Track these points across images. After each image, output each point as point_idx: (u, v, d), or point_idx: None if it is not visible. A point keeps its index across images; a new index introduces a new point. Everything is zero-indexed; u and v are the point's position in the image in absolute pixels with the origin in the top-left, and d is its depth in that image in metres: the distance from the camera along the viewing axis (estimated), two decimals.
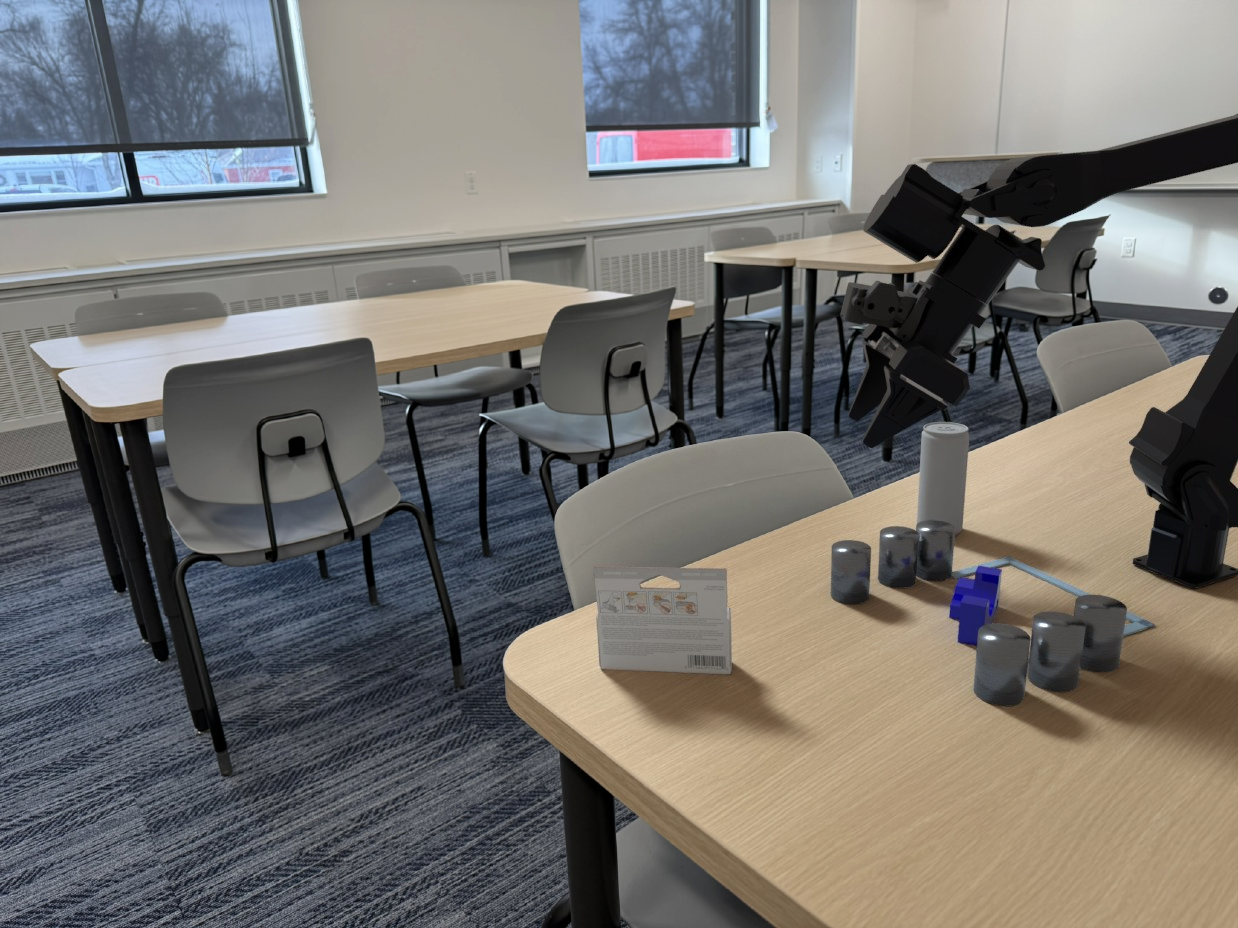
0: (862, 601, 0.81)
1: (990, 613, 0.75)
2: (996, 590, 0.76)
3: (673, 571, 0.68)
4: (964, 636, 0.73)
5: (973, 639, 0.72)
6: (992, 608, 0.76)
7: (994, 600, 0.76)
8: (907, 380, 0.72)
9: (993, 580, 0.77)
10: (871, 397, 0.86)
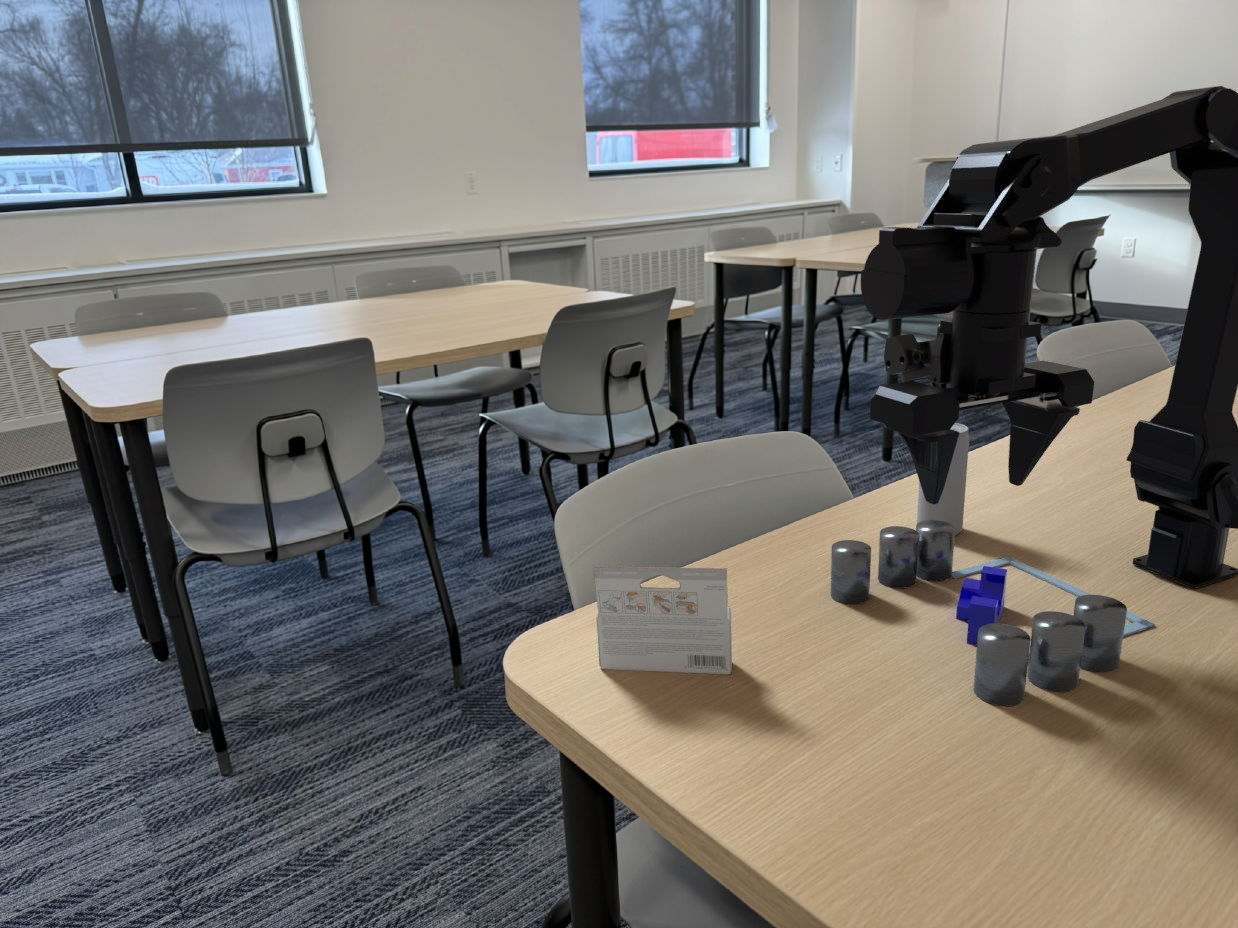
0: (862, 601, 0.81)
1: (997, 613, 0.75)
2: (1002, 590, 0.76)
3: (673, 571, 0.68)
4: (974, 637, 0.72)
5: None
6: (999, 608, 0.75)
7: (1001, 600, 0.76)
8: None
9: (999, 581, 0.76)
10: (1021, 454, 0.73)
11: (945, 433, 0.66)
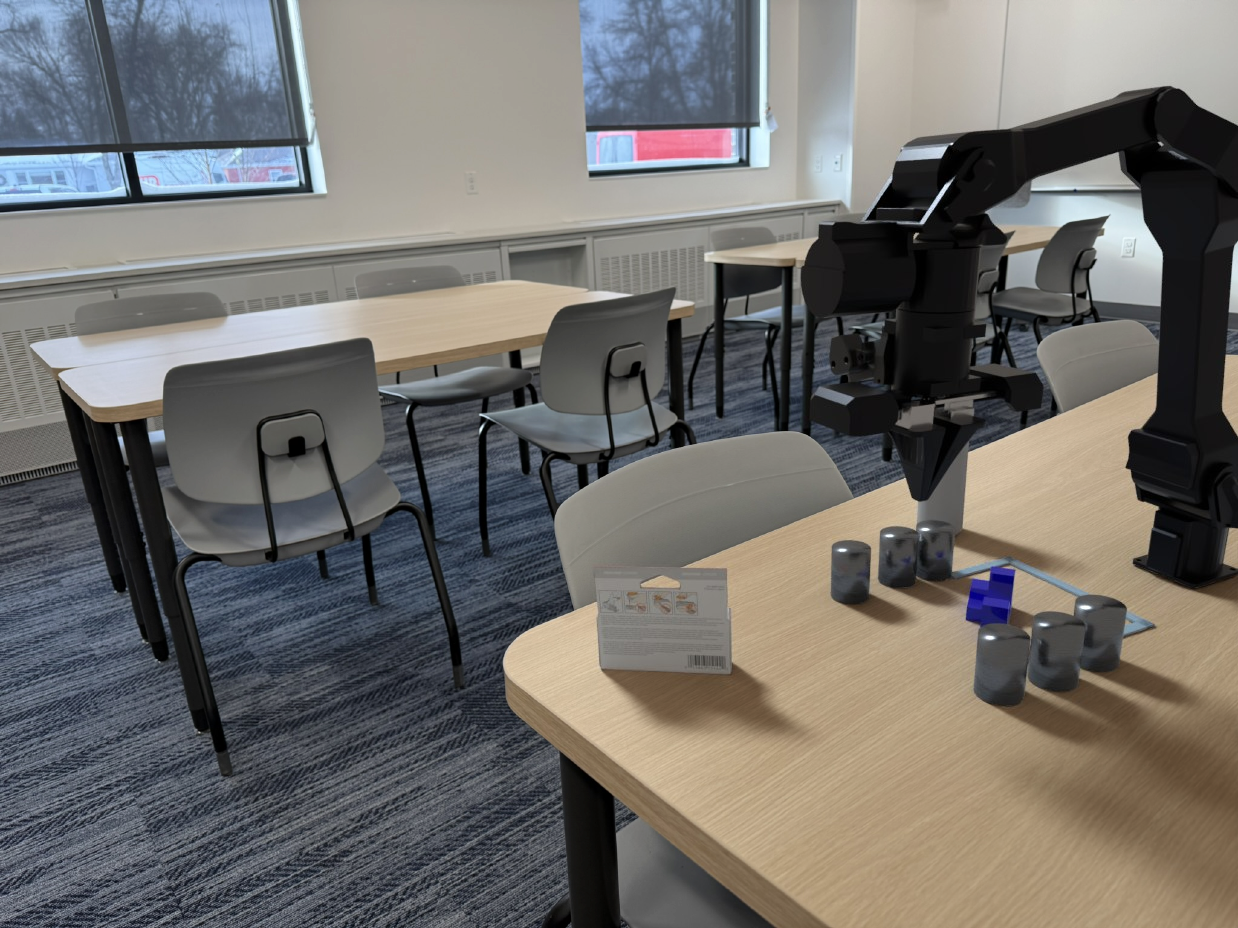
0: (862, 601, 0.81)
1: (1008, 614, 0.75)
2: (1011, 591, 0.76)
3: (673, 571, 0.68)
4: None
5: None
6: (1009, 609, 0.75)
7: (1010, 601, 0.76)
8: None
9: (1008, 581, 0.76)
10: None
11: (931, 429, 0.65)
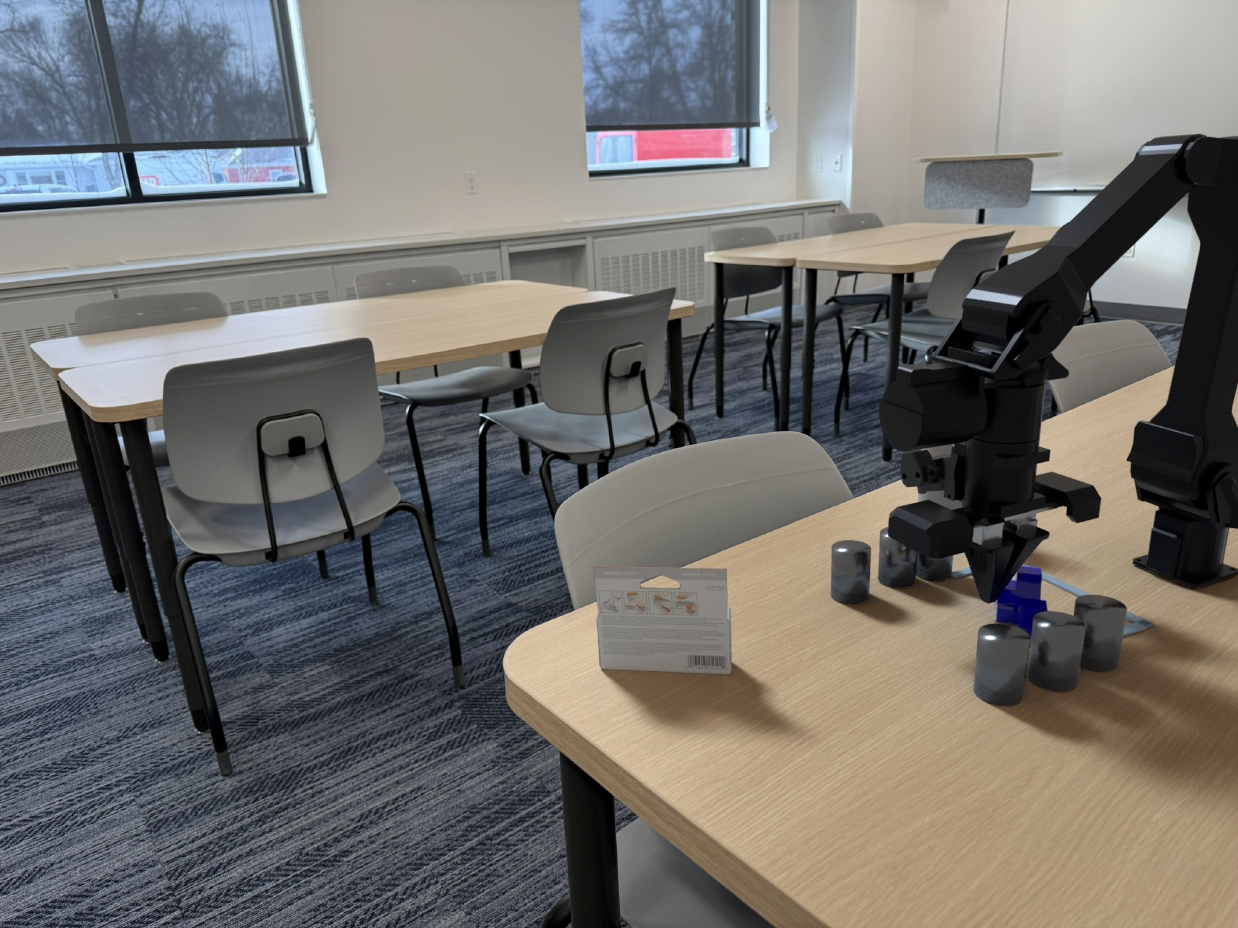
0: (862, 601, 0.81)
1: None
2: (1040, 589, 0.76)
3: (673, 571, 0.68)
4: None
5: None
6: None
7: (1039, 600, 0.76)
8: None
9: (1035, 580, 0.76)
10: None
11: (1001, 544, 0.71)
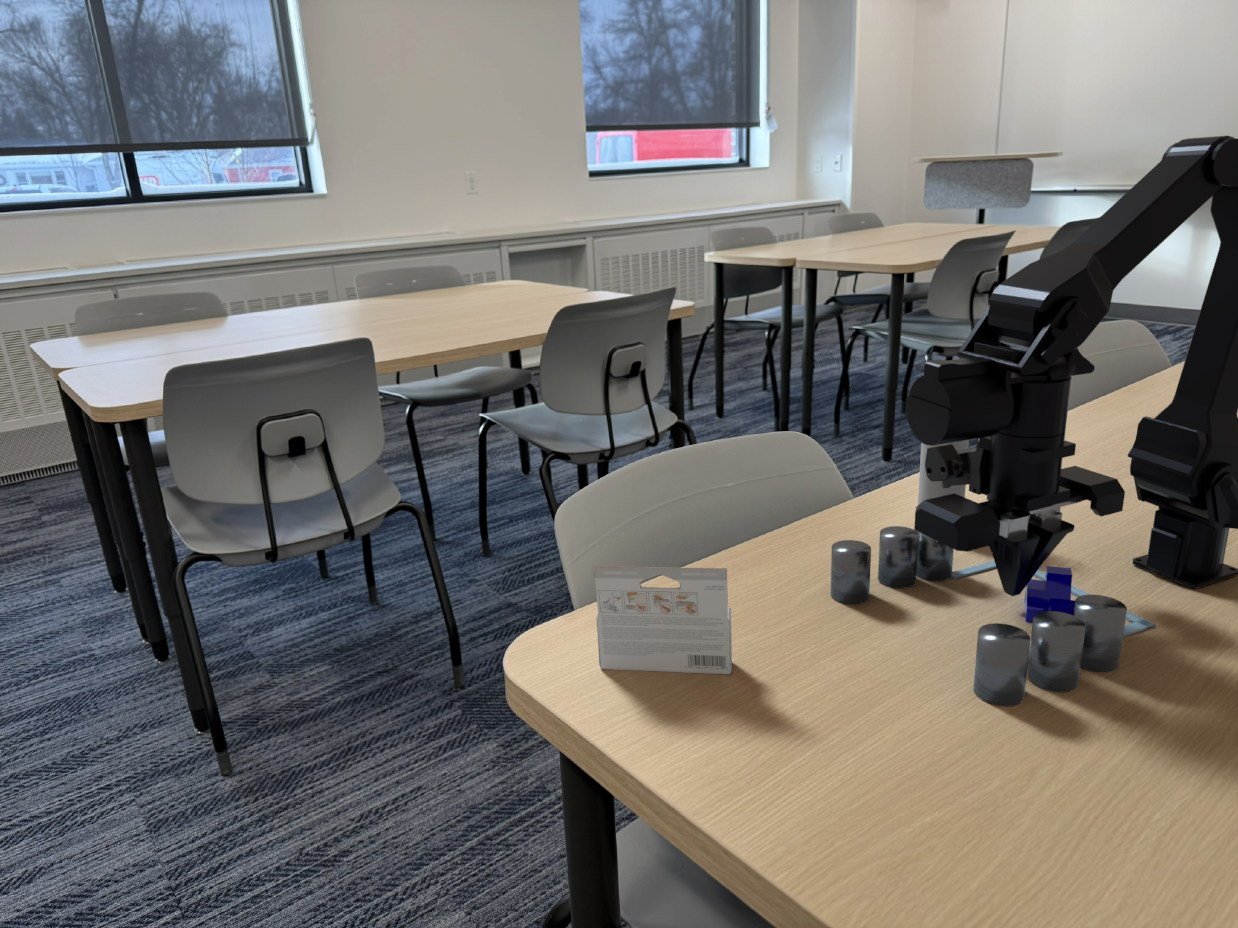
0: (862, 601, 0.81)
1: None
2: (1070, 590, 0.75)
3: (673, 571, 0.68)
4: None
5: None
6: None
7: (1069, 600, 0.75)
8: None
9: (1065, 580, 0.76)
10: None
11: (1027, 537, 0.72)
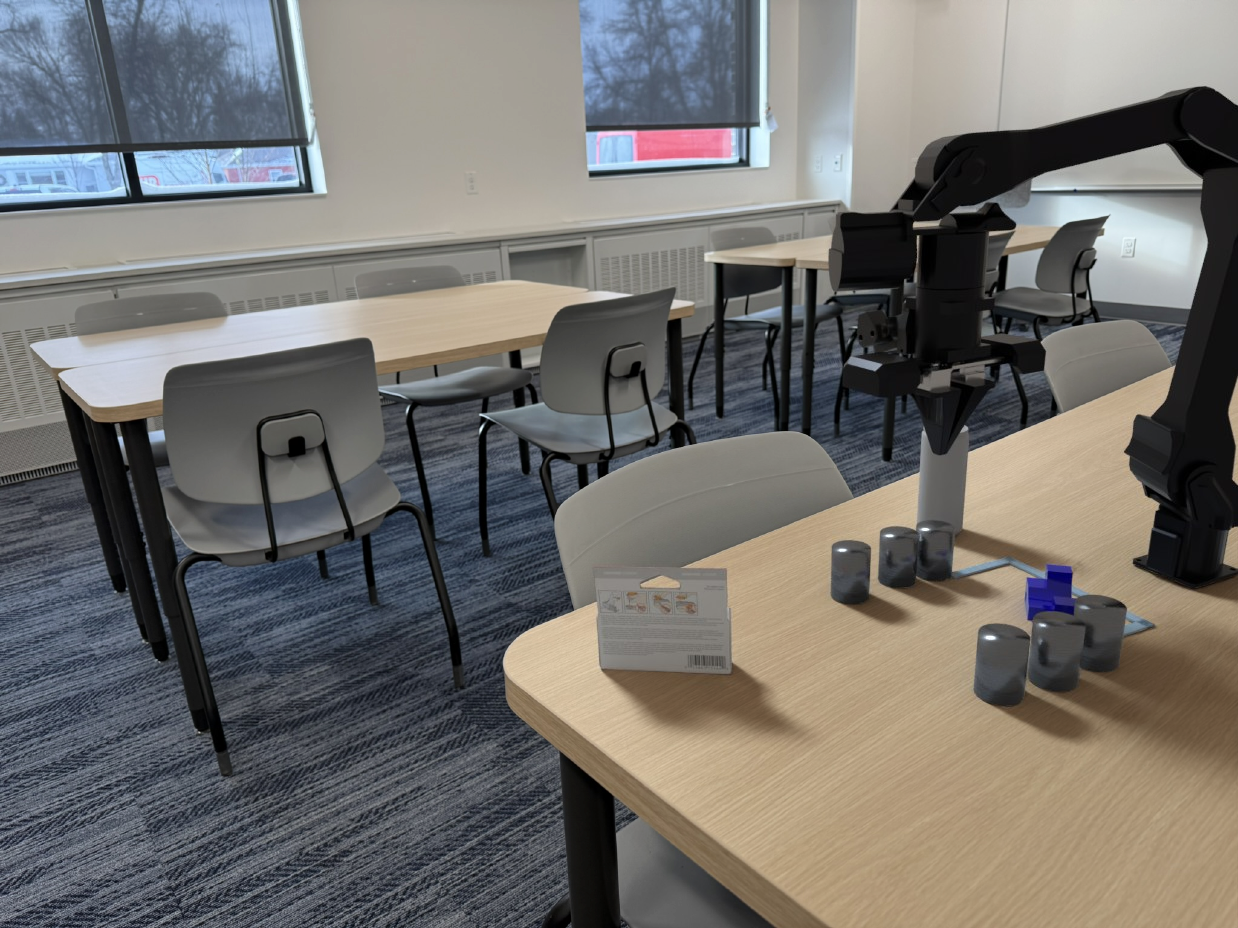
0: (862, 601, 0.81)
1: None
2: (1070, 588, 0.76)
3: (673, 571, 0.68)
4: None
5: None
6: None
7: (1070, 598, 0.76)
8: None
9: (1066, 578, 0.76)
10: None
11: (949, 390, 0.75)
